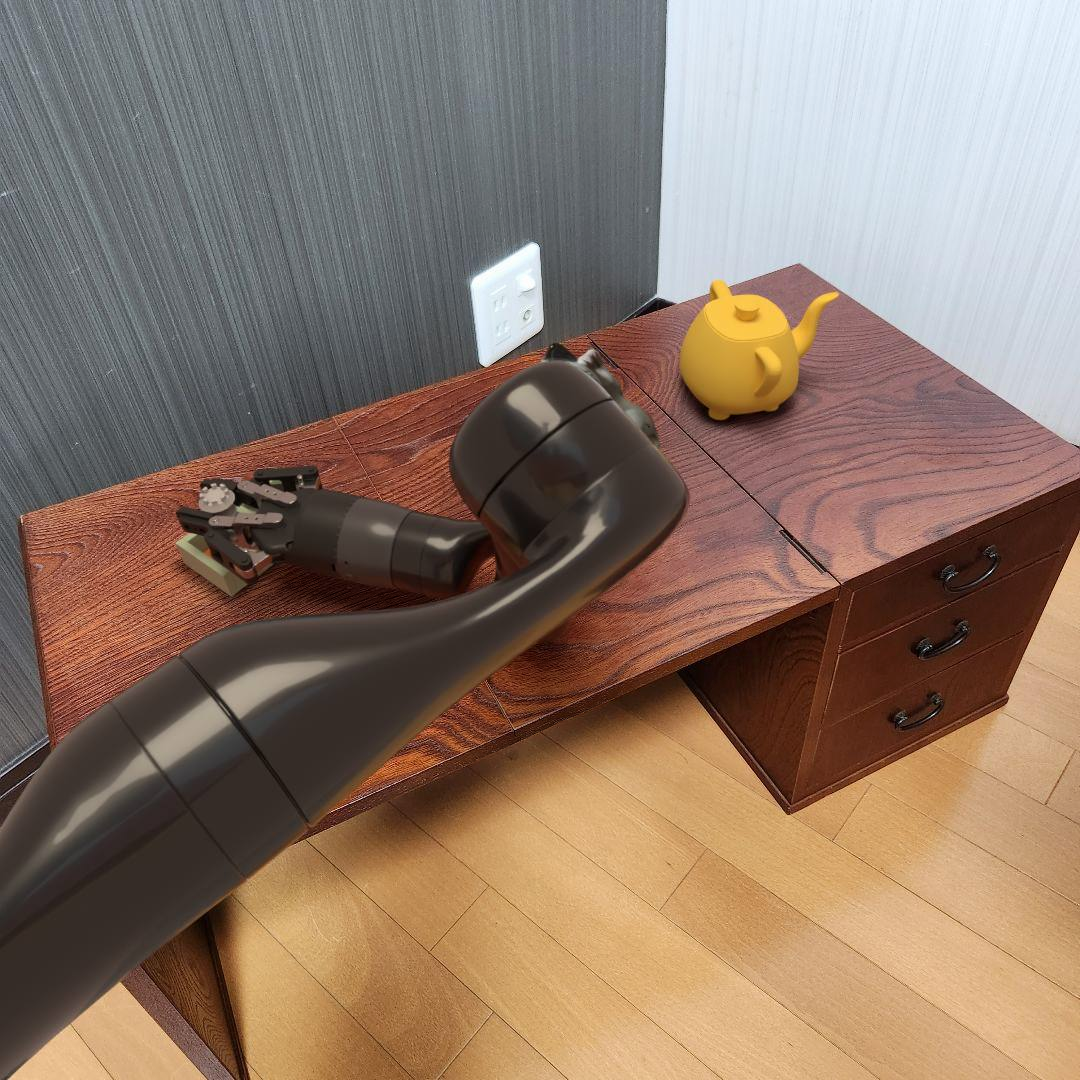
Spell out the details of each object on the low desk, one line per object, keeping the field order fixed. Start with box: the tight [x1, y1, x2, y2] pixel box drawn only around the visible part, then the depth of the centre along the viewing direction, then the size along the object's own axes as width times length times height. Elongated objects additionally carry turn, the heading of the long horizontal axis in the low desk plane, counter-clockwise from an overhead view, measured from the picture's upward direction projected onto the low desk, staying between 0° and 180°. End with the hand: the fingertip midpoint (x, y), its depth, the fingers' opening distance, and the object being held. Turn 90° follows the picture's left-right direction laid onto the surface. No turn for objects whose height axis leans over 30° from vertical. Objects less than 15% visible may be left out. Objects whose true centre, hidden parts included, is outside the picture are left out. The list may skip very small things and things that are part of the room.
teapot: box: [678, 279, 840, 421], centre depth 101 cm, size 14×14×12 cm
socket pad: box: [175, 466, 285, 598], centre depth 91 cm, size 13×7×3 cm, turn 142°
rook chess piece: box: [198, 483, 243, 567], centre depth 87 cm, size 4×4×8 cm
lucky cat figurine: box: [493, 342, 661, 450], centre depth 93 cm, size 15×12×14 cm
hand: (192, 502), depth 86 cm, fingers closed on rook chess piece, 3 cm apart
